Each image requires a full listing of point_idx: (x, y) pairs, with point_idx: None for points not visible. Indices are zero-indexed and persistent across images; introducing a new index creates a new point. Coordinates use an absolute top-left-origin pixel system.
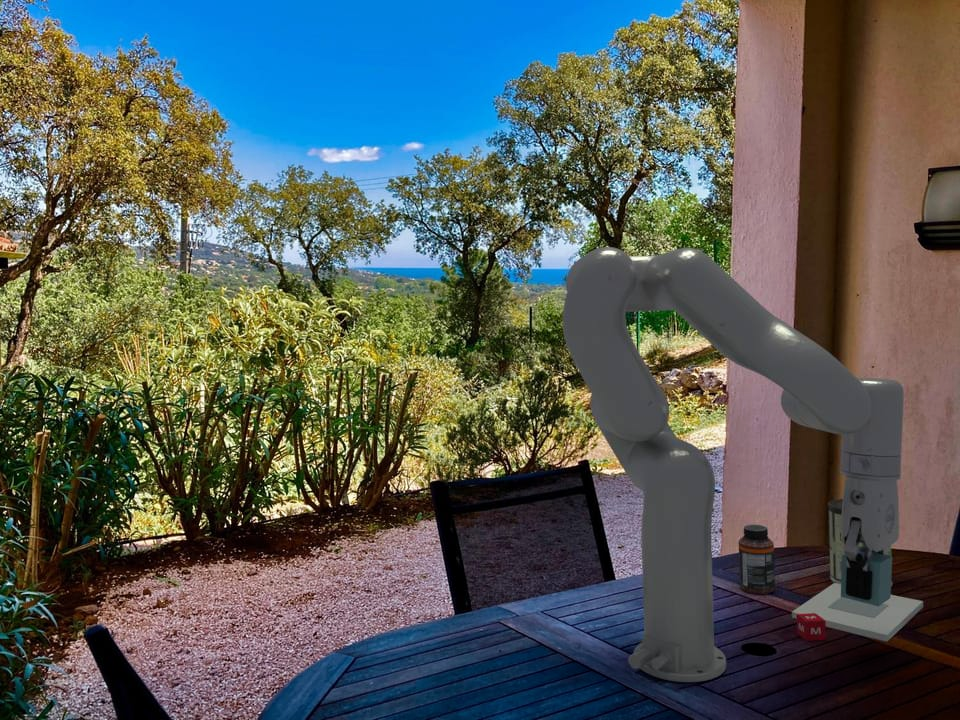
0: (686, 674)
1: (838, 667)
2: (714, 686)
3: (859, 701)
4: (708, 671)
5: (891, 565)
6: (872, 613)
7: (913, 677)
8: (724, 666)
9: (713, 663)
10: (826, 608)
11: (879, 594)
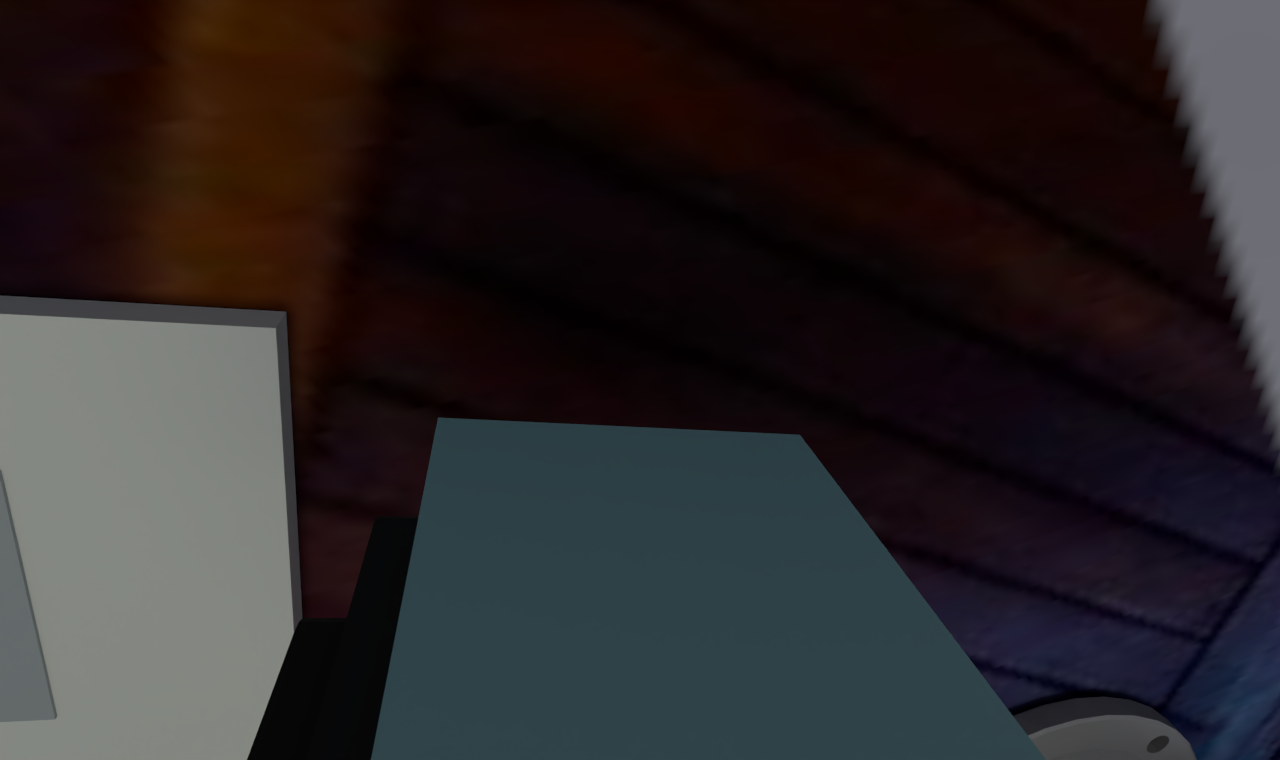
0: (1191, 758)
1: (811, 417)
2: (1160, 671)
3: (1131, 247)
4: (1151, 728)
5: (404, 682)
6: None
7: (750, 71)
8: (1068, 715)
9: (1082, 746)
10: (82, 713)
11: (833, 493)
